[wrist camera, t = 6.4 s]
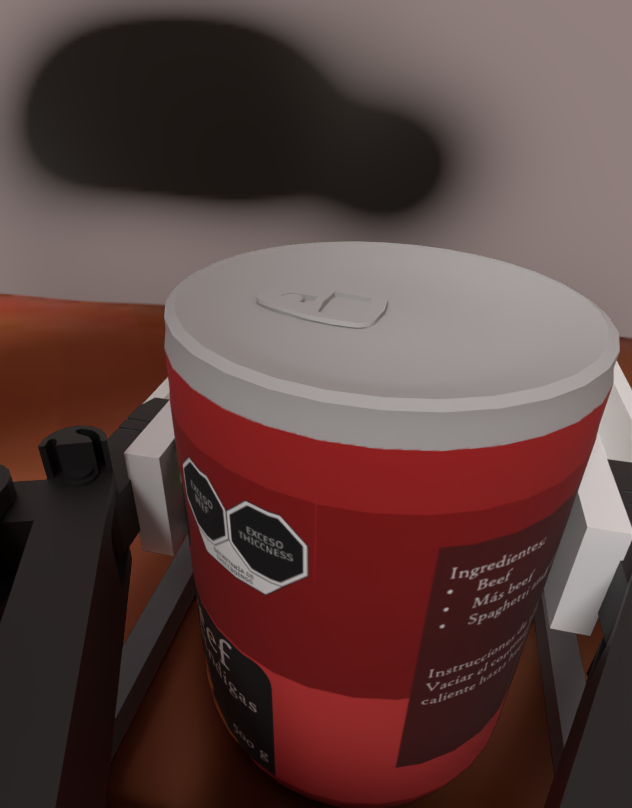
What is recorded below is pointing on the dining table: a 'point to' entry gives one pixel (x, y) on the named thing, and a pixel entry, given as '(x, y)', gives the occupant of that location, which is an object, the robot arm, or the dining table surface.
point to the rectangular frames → (179, 590)
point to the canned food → (375, 496)
